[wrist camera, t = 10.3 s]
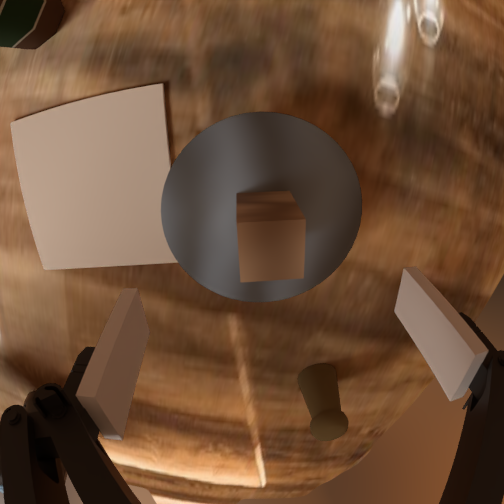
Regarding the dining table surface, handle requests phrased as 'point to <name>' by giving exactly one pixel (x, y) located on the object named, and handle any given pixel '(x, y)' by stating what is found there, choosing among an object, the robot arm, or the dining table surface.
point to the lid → (261, 207)
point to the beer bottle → (28, 22)
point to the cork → (323, 401)
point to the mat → (96, 179)
